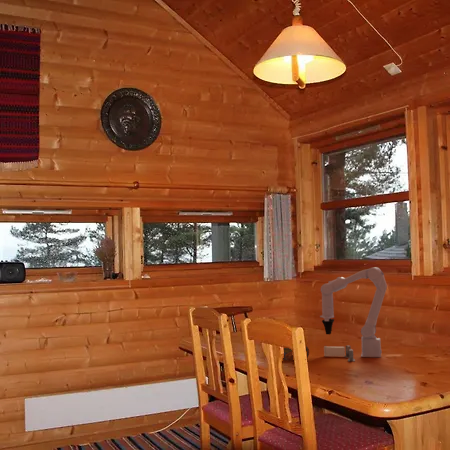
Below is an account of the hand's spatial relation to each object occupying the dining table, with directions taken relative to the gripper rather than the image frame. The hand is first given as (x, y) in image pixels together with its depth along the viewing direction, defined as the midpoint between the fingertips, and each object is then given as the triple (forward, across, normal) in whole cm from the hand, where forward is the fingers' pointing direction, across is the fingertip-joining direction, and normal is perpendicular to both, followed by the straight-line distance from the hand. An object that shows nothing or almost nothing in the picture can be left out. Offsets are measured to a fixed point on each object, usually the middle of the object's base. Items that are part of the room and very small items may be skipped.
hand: (328, 333), depth 316 cm
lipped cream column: (+10, +6, +3) cm, 12 cm away
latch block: (+10, +16, +12) cm, 22 cm away
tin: (+11, +18, -15) cm, 26 cm away
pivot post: (+10, +6, +10) cm, 16 cm away
